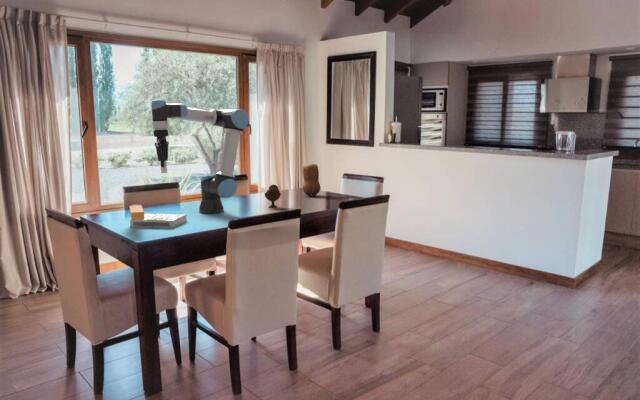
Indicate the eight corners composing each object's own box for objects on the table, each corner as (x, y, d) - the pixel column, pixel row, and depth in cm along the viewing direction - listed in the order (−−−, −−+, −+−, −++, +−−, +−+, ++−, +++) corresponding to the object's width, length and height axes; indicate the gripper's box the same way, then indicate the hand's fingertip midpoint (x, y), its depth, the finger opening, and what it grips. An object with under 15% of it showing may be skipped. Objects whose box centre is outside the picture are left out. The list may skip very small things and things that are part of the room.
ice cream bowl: (262, 206, 323) (262, 184, 320) (278, 205, 326) (278, 183, 324) (266, 209, 313) (266, 186, 310) (283, 208, 317) (283, 185, 314)
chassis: (146, 220, 277) (145, 208, 276) (186, 221, 274) (186, 209, 272) (129, 227, 259) (129, 214, 258) (172, 228, 256) (172, 215, 254)
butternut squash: (306, 194, 377) (306, 162, 373) (322, 195, 373) (322, 163, 369) (300, 197, 364) (299, 163, 360) (316, 198, 360) (316, 164, 356)
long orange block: (141, 211, 264) (141, 204, 263) (144, 219, 242) (143, 211, 241) (129, 212, 262) (129, 204, 261) (131, 220, 239) (131, 212, 239)
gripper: (159, 128, 267) (162, 171, 271) (148, 129, 254) (152, 174, 258) (172, 128, 266) (175, 171, 270) (162, 129, 253) (165, 174, 257)
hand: (164, 172), depth 264 cm, fingers closed
